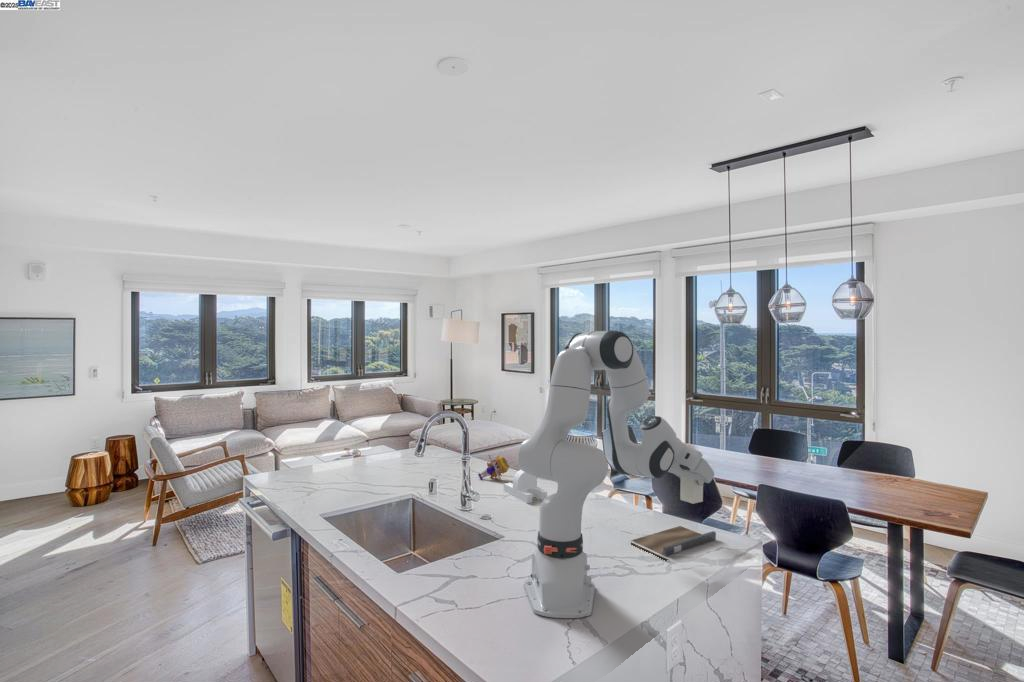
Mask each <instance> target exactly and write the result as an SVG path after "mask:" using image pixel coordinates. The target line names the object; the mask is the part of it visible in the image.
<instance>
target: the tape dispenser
mask: <svg viewBox="0 0 1024 682" xmlns="http://www.w3.org/2000/svg"><path fill="white" fill-rule="evenodd" d="M504 491H505V492H507V493H509V494H510V496H511V495H512V496H511V497H513V496H514V497H513V498H515V497H516V498H515V499H517V498H518V499H517V500H519V499H520V501H521V500H522V501H521V502H523V501H524V502H523V503H525V502H526V503H525V504H532V503H533V498H535V497H536V498H535V499H538V498H539V499H538V500H540V499H541V500H540V501H542V500H544V499H545V498H546V497H548V496H547V494H548V492H547V491H548V490H545V489H543V488H541V487H538V479H537V477H534V476H532V475H530V474H528V473H526V472H524V471H522V470H521V469H519V470H518V471H517V472H516V473H515V474H514V476H513V479H512V482H507V483H505V482H504V483H503V492H504ZM505 492H504V493H505ZM507 493H506V494H507ZM509 494H508V495H509ZM531 502H532V503H531Z"/></svg>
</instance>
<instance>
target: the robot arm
mask: <svg viewBox="0 0 1024 682" xmlns="http://www.w3.org/2000/svg"><path fill="white" fill-rule="evenodd" d="M552 368H553V369H552V373H551V377H550V383H549V391H548V396H547V403H546V408H545V411H544V412H545V413H544V415H543V418H542V420H541V423H540V424H539V426H538V428H537V429H536V430H535V431H534V432H533V434H531V435H530V436H528V437H527V438H526V439H524V440H523V441H522V442H521V444H520V446H519V448H518V450H517V455H516V456H517V462H518V466H519V468H520V470H522V471H524V472H526V473H528V474H530V475H532V476H534V477H537V478H538V479H542V480H547V481H552V482H556V483H557V489H556V492H555V493H552V494H550V495H548V496H547V497H546V498H545V499H544V500H543V501H542V502H541V504H540V506H539V530H538V532H537V538H536V540H537V544H536V545H537V548H536V550H535V551H533V552H532V553H531V567H530V568H531V570H530V571H531V574H530V578H527V579H525V580H524V581H523V587H524V590H525V592H526V595H527V597H528V600H529V603H530V606H531V608H532V611H533V612H534V614H536V615H539V616H543V617H545V618H546V617H547V618H552V619H553V618H556V619H581V618H585V616H586V617H588V616H591V615H592V612H593V605H594V597H595V592H596V584H595V582H594V581H592V576H591V575H588V571H590V567H591V566H590V564H588V554H586V552H585V551H584V538H583V537H584V536H583V533H582V517H583V508H584V504H585V502H586V499H587V497H588V495H589V494H590V493H591V492H592V490H594V489H595V488H597V487H599V486H601V484H602V483H603V482H604V480H605V479H606V478H607V475H608V472H609V462H608V457H607V455H606V453H605V452H604V451H603V449H600V448H598V447H595V446H593V445H590V444H588V443H584V442H576V441H570V440H567V439H568V435H569V434H570V433H571V431H572V430H573V429H574V428H577V427H579V426H581V425H583V424H584V423H585V422H586V420H587V418H588V415H589V406H590V398H591V397H590V396H591V390H592V388H591V387H592V374H593V372H594V371H605V373H606V378H607V382H608V386H609V389H610V398H609V399H608V401H607V405H606V408H607V409H606V412H607V420H608V426H609V435H610V440H611V441H610V442H611V460H612V464H613V466H614V468H615V470H616V472H618V473H619V474H620V475H622V476H623V475H624V476H638V477H645V478H646V477H648V478H653V479H661V478H662V477H664V476H665V475H666V474H667V473H671V474H674V475H675V476H677V477H678V478H679V479H680V480H681V476H684V477H688V478H691V479H695V480H697V481H696V483H697V484H698V485H700V486H703V487H704V483H706V484H710V483H711V482H712V480H713V479H714V477H715V471H714V470H713V469H712V466H711V465H710V464H709V463H708V461H707V460H706V459H705V458H703V454H702V452H701V451H699V450H697V449H695V448H693V447H691V446H689V445H687V444H685V443H683V441H682V440H681V439H680V438H679V437H677V434H676V432H675V430H674V428H673V427H672V426H671V425H670V424H669V422H668V421H667V420H666V419H665V418H663V417H662V416H658V415H657V416H655V415H654V416H647V417H646V418H645V419H643V420H642V421H641V422H640V424H639V430H640V433H641V443H635V442H633V441H632V440H631V439H630V434H629V433H630V432H629V426H628V420H627V418H628V414H631V413H632V412H634V411H636V410H638V409H640V408H641V407H642V406H644V404H645V403H646V402H647V401H648V399H649V395H650V385H649V382H648V378H647V375H646V371H645V367H644V366H643V363H642V361H641V359H640V357H639V354H638V352H637V351H636V349H635V347H634V346H633V342H632V340H631V338H630V337H629V336H628V335H627V333H625V332H622V331H621V330H619V331H618V330H613V329H612V330H592V331H591V330H590V331H586V332H578V333H575V334H573V335H571V336H570V337H569V338H567V340H566V341H565V344H564V345H563V349H562V350H561V351H560V352H559V353H558V354H557V356H556V359H555V362H554V365H553V367H552Z"/></svg>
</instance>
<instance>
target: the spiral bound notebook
mask: <svg viewBox="0 0 1024 682" xmlns="http://www.w3.org/2000/svg"><path fill="white" fill-rule="evenodd" d="M702 534H703V533H699V532H697V531H694V530H693V529H689V528H687V527H684V526H682V525H679V526H675V527H673V528H669V529H665V530H662V531H659V532H654V533H651V534H648V535H644V536H641V537H637V538H634V539H631V542H630V545H631V546H632V545H633V546H632V547H634V546H635V547H634V548H636V547H637V548H636V549H638V548H639V550H641V549H642V550H641V551H643V550H644V551H643V552H645V551H646V552H645V553H647V552H648V554H649V553H651V554H653V555H655V556H657V557H659V558H658V559H660V558H661V559H660V560H662V559H663V560H662V561H664V560H665V561H664V562H668V561H667V560H669V559H668V558H666V557H665V556H664V555H663V547H665V546H668V545H671V544H674V543H677V542H680V541H684V540H687V539H690V538H693V537H696V536H699V535H702ZM633 542H634V543H633ZM644 547H645V548H644ZM651 554H650V555H651ZM659 554H660V555H659ZM653 555H652V556H653ZM655 556H654V557H655ZM663 556H664V557H663ZM657 557H656V558H657Z"/></svg>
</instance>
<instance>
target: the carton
mask: <svg viewBox="0 0 1024 682" xmlns="http://www.w3.org/2000/svg"><path fill="white" fill-rule="evenodd" d="M696 481H697V480H695V479H691V478H688V477H684V476H681V479H680V481H679V482H680V485H679V486H680V487H679V488H680V489H679V490H680V491H679V495H680V497H679V499H680V501H682V502H686V503H689V504H693V505H694V504H698V503H703V502H704V485H703V486H700V485H698V484H697V483H696Z"/></svg>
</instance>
